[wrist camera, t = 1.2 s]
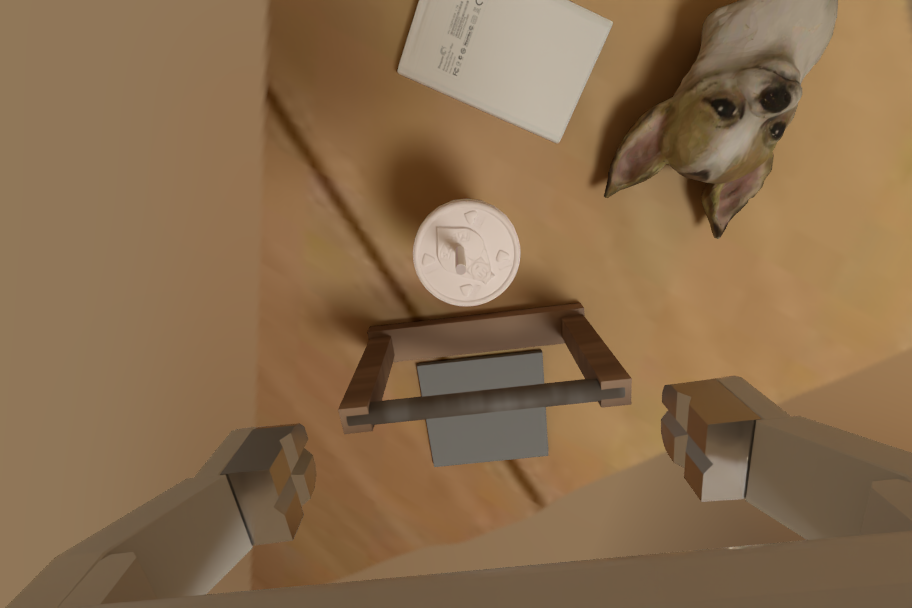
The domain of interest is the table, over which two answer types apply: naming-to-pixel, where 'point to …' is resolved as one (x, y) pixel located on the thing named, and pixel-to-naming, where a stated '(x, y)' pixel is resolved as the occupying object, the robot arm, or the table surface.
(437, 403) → the bar hurdle
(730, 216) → the ceramic sculpture
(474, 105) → the external hard drive
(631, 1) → the table surface
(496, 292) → the smoothie
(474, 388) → the mat
